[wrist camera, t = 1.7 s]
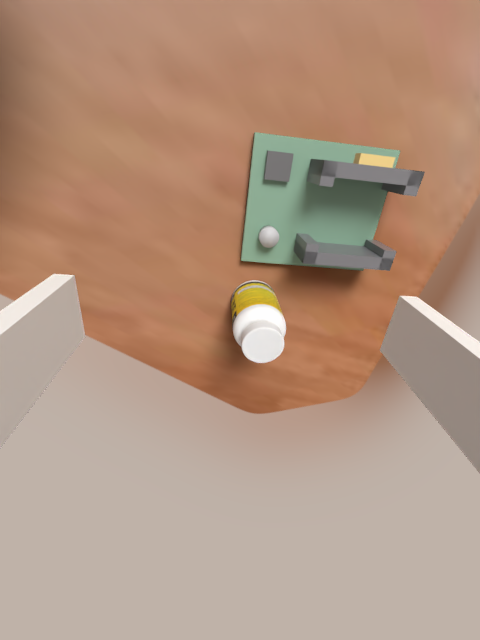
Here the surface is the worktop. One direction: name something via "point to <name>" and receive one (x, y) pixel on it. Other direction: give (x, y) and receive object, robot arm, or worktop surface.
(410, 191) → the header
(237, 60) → the worktop surface
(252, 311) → the supplement bottle
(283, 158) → the board
